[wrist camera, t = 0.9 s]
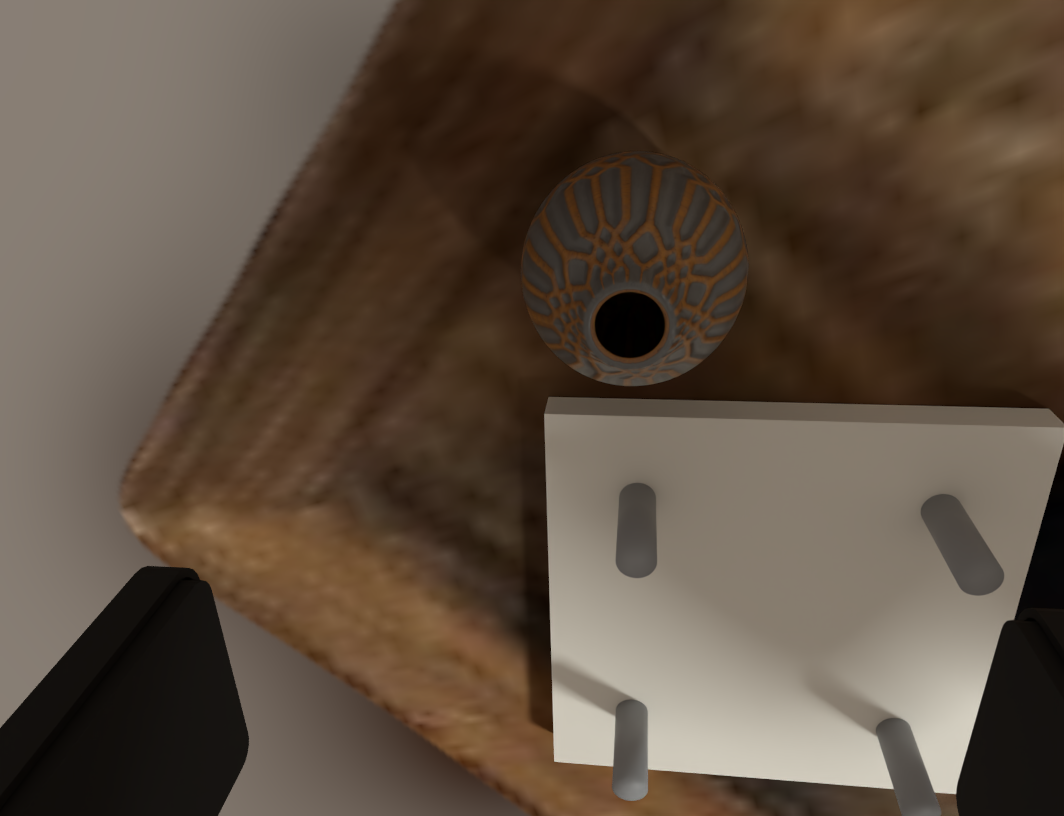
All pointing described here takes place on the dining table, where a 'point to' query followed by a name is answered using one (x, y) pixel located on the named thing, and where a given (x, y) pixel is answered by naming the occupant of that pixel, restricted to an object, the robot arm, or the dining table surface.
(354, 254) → the dining table surface
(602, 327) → the vase
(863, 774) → the stand
